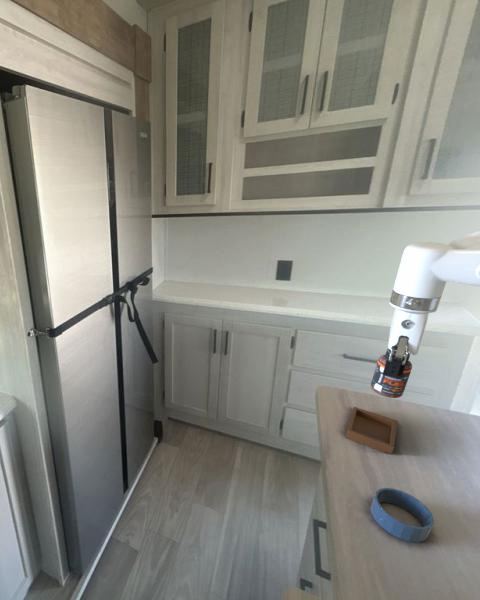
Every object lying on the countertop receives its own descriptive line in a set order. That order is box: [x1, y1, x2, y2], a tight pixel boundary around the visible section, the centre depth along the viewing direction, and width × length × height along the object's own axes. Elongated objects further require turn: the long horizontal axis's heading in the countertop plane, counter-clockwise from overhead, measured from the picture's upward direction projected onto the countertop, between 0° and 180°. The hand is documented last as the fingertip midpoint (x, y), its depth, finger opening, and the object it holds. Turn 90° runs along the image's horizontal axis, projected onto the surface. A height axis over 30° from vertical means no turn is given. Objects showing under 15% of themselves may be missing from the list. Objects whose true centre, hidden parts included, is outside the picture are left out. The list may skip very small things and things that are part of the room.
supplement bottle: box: [370, 348, 413, 399], centre depth 79 cm, size 6×6×11 cm
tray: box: [344, 406, 398, 455], centre depth 87 cm, size 12×9×2 cm
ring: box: [369, 487, 435, 544], centre depth 66 cm, size 8×8×5 cm
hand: (393, 368), depth 78 cm, fingers closed on supplement bottle, 6 cm apart
